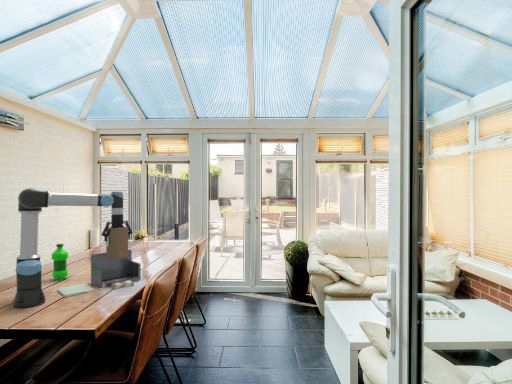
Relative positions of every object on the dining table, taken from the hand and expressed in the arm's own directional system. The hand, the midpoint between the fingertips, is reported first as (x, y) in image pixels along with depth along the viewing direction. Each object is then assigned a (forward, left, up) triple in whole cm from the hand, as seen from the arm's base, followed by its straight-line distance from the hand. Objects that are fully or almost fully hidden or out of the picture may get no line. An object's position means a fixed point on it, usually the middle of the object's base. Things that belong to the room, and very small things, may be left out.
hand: (117, 245), depth 229 cm
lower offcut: (-2, -13, -27) cm, 29 cm away
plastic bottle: (-25, +41, -26) cm, 55 cm away
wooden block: (0, 0, -8) cm, 8 cm away
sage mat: (-26, +1, -26) cm, 37 cm away
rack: (0, +1, -26) cm, 26 cm away
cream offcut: (-2, -13, -25) cm, 28 cm away
